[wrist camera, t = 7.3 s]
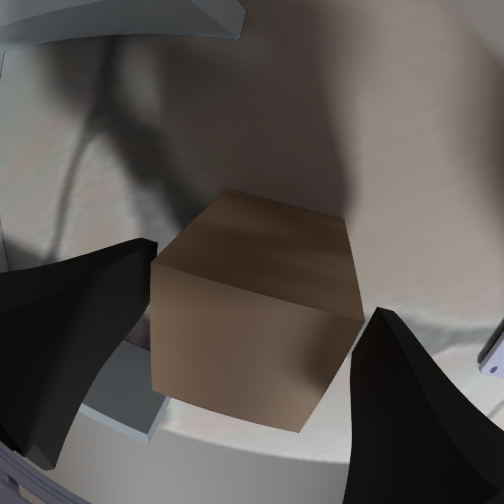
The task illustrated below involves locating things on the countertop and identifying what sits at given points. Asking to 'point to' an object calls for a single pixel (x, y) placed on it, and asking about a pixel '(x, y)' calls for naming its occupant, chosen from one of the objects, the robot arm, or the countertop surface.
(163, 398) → the u-shaped bracket
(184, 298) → the block
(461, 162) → the countertop surface
